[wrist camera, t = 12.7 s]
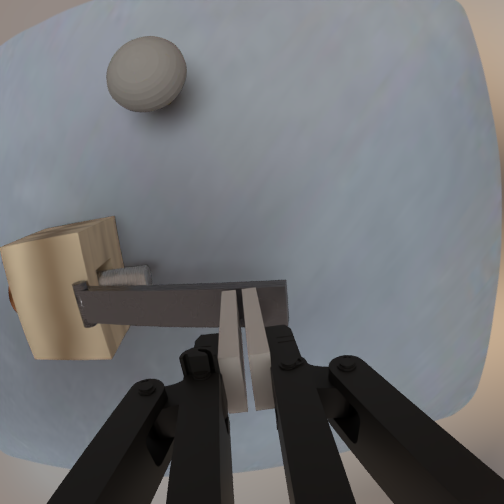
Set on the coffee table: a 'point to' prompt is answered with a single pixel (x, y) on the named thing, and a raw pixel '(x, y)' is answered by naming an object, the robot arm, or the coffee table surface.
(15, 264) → the block
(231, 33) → the coffee table surface
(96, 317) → the bar
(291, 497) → the robot arm
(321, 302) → the coffee table surface
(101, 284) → the pin
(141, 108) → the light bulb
